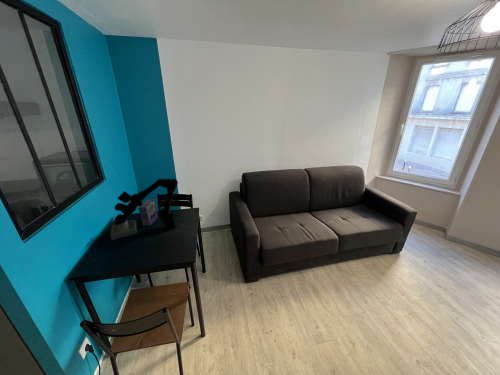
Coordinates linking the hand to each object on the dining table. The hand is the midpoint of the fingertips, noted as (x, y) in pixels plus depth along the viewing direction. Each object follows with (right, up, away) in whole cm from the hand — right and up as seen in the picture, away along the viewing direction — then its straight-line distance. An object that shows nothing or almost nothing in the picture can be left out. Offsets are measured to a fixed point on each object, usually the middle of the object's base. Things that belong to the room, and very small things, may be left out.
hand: (119, 221), depth 137 cm
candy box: (+15, -3, +16) cm, 22 cm away
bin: (+2, -8, +4) cm, 9 cm away
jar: (+2, -7, +3) cm, 8 cm away
